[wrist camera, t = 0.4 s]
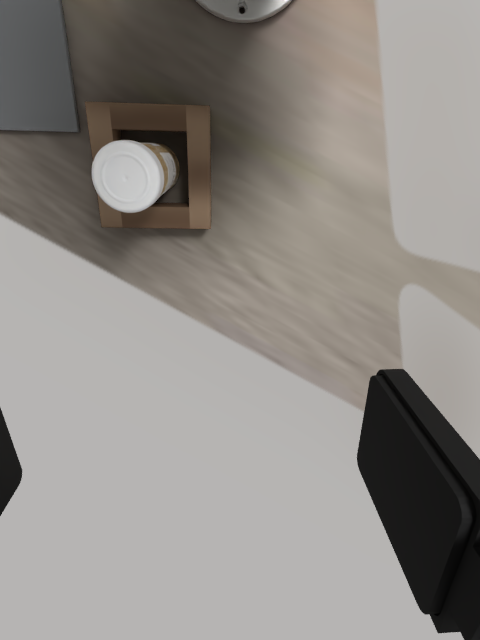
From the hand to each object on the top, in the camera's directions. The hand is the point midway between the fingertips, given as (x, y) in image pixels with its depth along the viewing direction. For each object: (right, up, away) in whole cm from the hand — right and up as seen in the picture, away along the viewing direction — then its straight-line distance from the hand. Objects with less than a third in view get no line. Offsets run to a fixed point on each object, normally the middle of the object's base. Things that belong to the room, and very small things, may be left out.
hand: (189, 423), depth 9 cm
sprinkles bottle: (-7, +18, +27) cm, 33 cm away
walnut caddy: (-7, +18, +27) cm, 33 cm away
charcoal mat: (-20, +26, +22) cm, 39 cm away
